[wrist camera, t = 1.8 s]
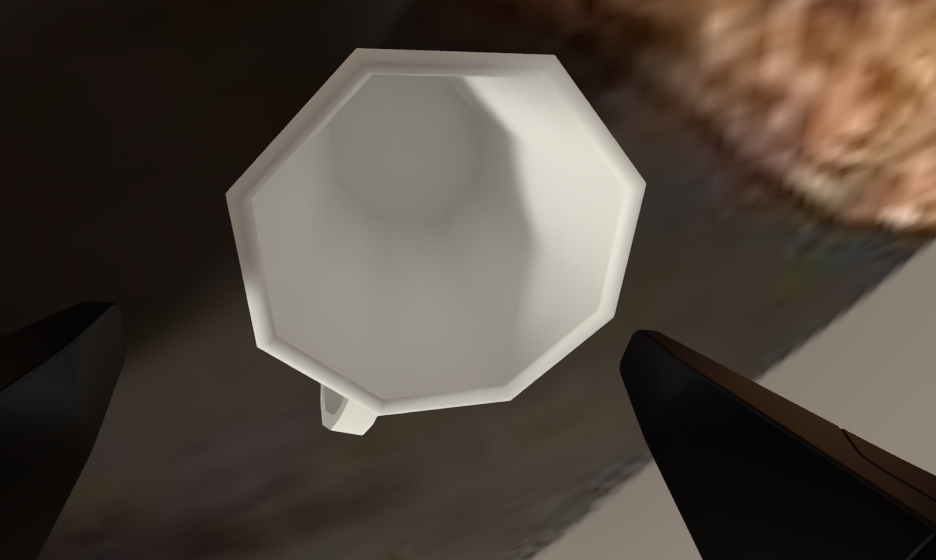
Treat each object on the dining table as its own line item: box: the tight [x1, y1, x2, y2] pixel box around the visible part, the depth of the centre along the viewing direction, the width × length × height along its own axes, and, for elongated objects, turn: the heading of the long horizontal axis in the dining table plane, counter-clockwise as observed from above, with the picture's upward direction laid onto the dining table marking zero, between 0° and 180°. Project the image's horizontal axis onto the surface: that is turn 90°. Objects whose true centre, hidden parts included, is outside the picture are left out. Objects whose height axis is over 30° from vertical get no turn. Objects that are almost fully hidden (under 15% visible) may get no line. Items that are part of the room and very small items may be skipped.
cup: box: [226, 48, 646, 435], centre depth 12 cm, size 7×10×8 cm
